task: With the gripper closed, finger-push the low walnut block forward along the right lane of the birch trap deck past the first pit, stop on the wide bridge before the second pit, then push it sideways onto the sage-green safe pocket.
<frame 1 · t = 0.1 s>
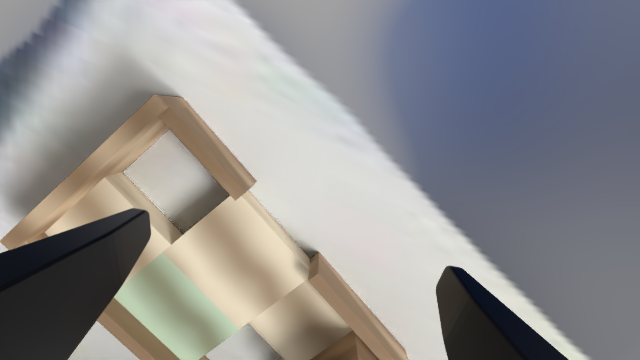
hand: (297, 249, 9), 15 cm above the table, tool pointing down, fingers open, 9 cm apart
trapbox: (238, 292, 27), on the table
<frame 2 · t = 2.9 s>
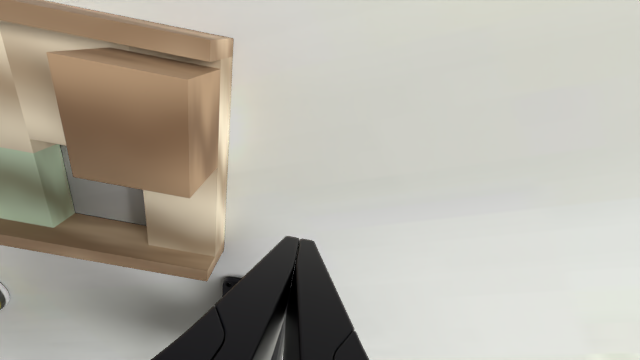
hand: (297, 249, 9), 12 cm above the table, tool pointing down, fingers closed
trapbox: (26, 124, 21), on the table
block: (168, 112, 18), point 2 cm above the table, touching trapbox
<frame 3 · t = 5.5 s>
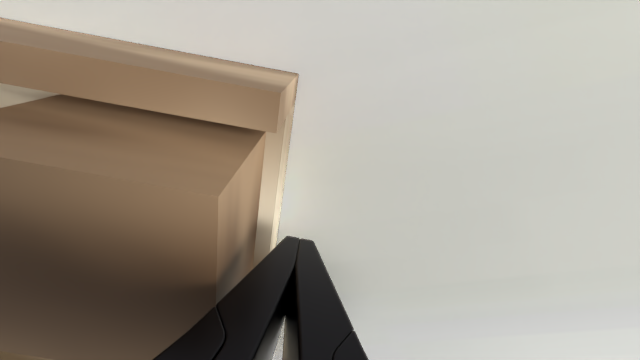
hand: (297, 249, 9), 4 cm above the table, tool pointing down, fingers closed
block: (171, 197, 10), point 2 cm above the table, touching gripper
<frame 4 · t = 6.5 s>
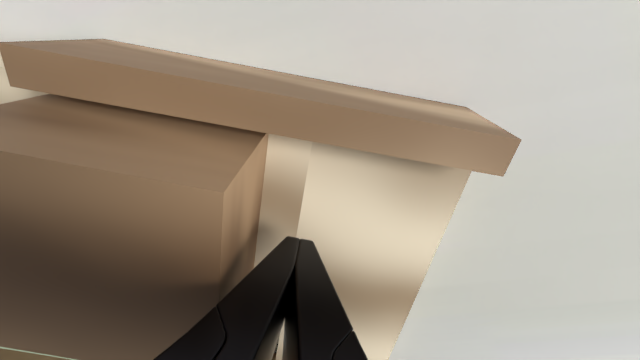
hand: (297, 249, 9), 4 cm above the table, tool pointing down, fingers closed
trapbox: (97, 225, 14), on the table
block: (173, 195, 10), point 2 cm above the table, touching gripper, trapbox
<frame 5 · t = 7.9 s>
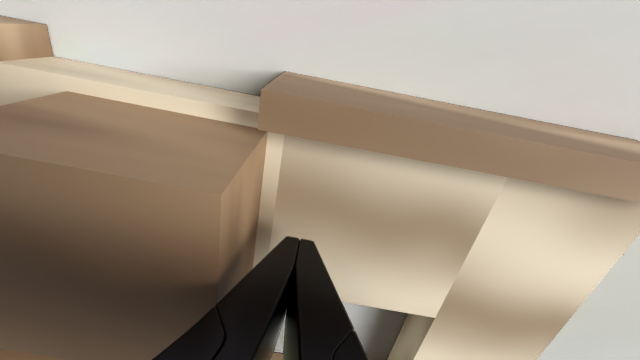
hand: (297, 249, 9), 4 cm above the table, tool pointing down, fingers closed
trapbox: (230, 247, 14), on the table
block: (172, 196, 10), point 2 cm above the table, touching gripper, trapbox
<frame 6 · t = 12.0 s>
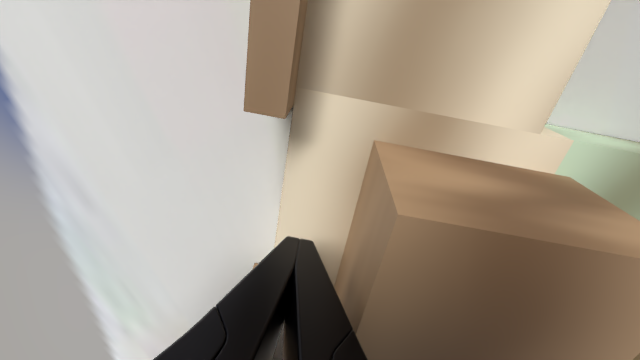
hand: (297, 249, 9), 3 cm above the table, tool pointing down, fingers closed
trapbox: (480, 168, 11), on the table
block: (437, 238, 10), point 2 cm above the table, touching gripper
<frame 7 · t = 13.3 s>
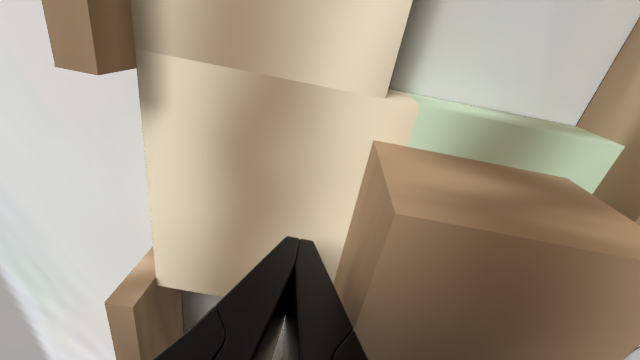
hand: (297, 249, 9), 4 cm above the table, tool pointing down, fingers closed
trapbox: (363, 141, 11), on the table
block: (435, 237, 10), point 2 cm above the table, touching gripper, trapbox
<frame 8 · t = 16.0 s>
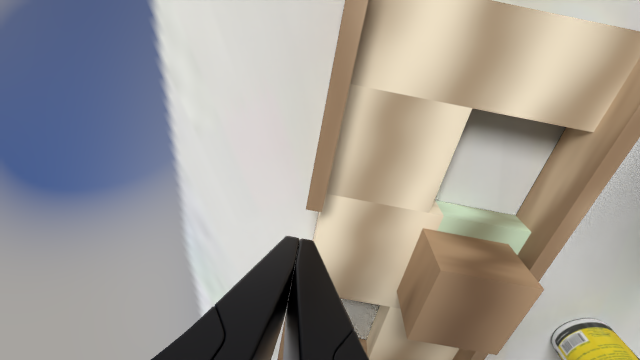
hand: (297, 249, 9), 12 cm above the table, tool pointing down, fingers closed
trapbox: (412, 220, 22), on the table
supplement bottle: (577, 332, 27), on the table
block: (449, 269, 22), point 2 cm above the table, touching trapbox
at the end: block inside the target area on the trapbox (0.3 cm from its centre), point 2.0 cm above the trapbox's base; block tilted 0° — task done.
